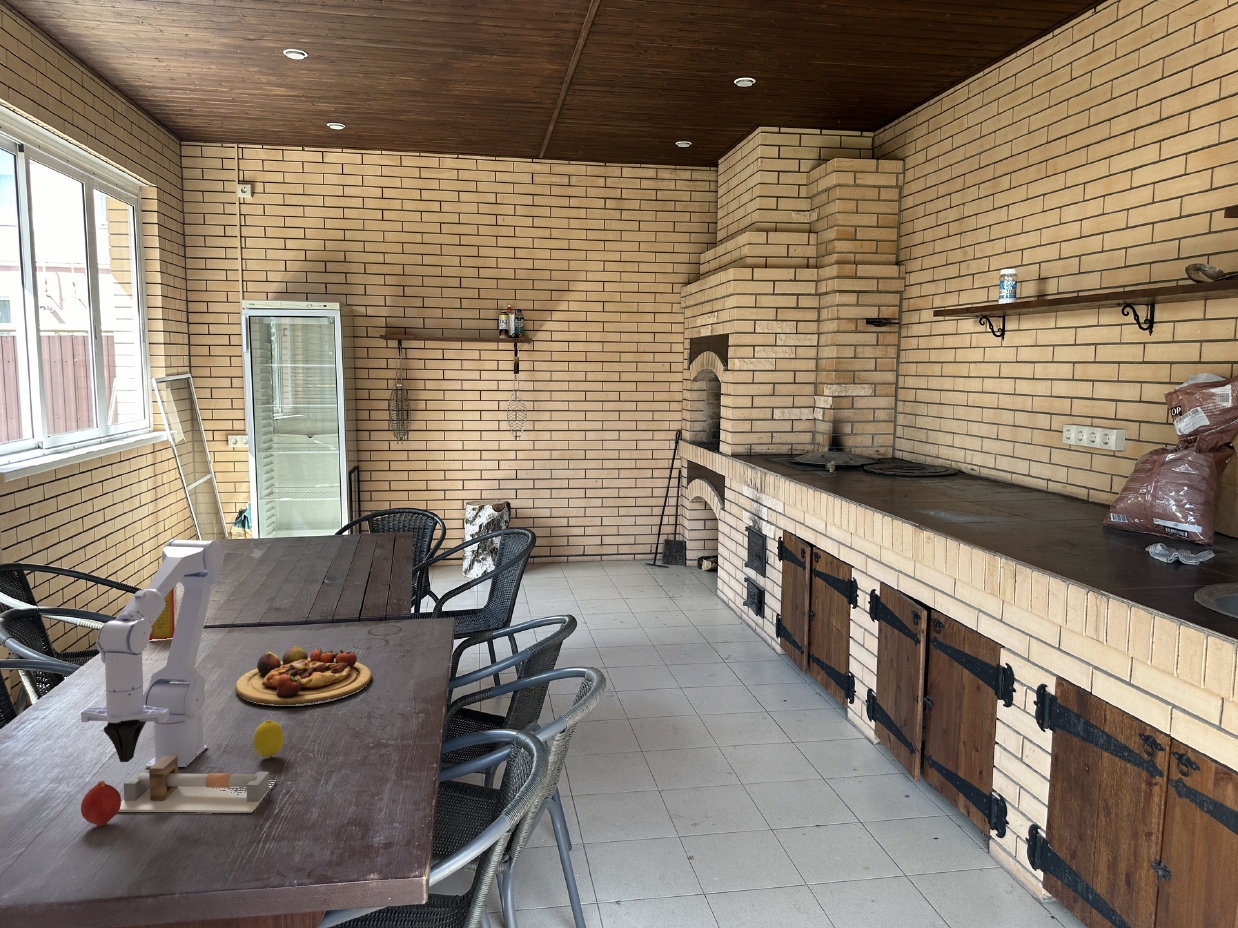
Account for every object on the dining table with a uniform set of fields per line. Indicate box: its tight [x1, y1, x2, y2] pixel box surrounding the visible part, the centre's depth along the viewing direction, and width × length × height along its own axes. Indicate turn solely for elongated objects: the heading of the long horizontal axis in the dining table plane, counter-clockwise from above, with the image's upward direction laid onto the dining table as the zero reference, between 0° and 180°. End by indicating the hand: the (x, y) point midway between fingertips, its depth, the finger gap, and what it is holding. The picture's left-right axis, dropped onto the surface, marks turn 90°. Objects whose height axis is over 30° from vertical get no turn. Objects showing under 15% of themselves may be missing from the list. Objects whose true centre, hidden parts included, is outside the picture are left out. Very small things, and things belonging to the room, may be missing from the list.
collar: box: [148, 755, 179, 800], centre depth 149 cm, size 2×5×6 cm, turn 2°
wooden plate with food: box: [234, 645, 372, 705], centre depth 206 cm, size 32×32×8 cm
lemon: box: [253, 719, 285, 758], centre depth 165 cm, size 6×6×8 cm
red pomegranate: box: [80, 780, 122, 827], centre depth 139 cm, size 6×6×8 cm
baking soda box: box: [149, 584, 178, 640], centre depth 241 cm, size 10×6×16 cm
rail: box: [118, 769, 274, 812], centre depth 150 cm, size 24×11×5 cm, turn 92°
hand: (126, 759), depth 149 cm, fingers closed
